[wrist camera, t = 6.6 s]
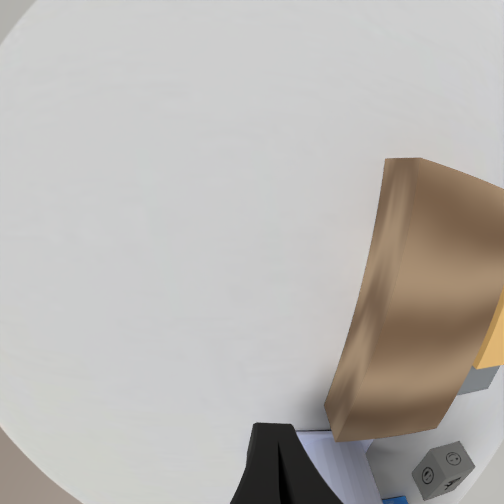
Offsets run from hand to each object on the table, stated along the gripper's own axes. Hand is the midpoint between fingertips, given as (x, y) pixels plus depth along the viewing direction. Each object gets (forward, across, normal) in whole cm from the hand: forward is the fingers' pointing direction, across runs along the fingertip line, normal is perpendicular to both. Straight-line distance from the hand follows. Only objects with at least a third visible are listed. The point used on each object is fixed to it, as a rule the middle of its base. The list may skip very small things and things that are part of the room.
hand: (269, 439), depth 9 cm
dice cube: (+10, -24, +19) cm, 32 cm away
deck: (+9, -10, -2) cm, 14 cm away
